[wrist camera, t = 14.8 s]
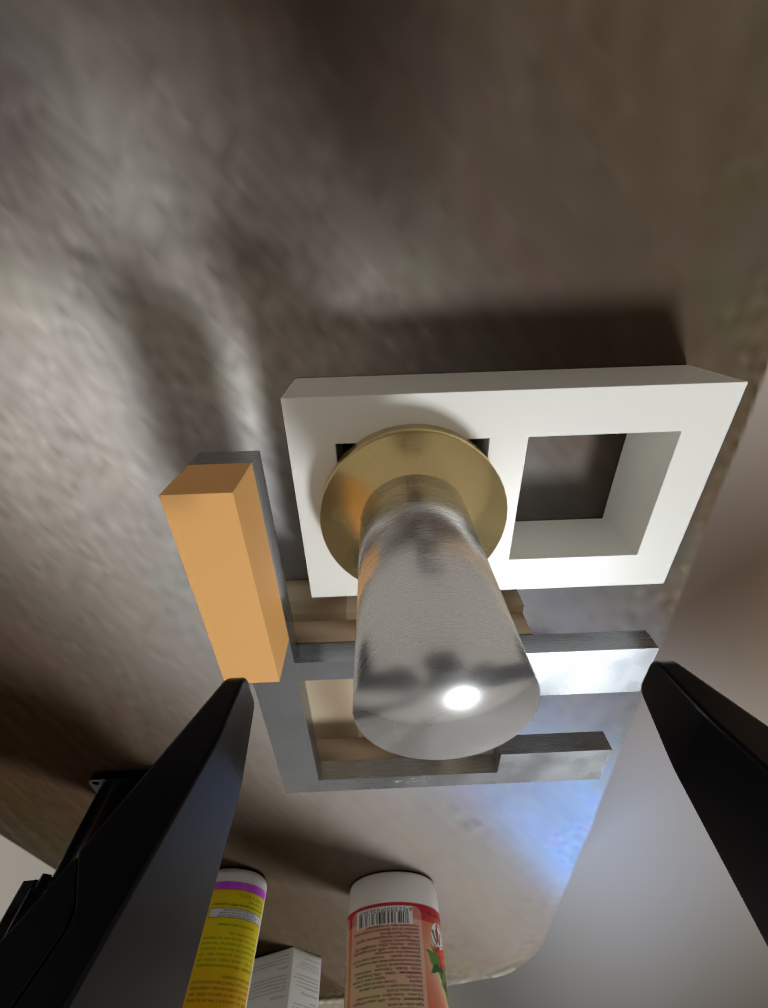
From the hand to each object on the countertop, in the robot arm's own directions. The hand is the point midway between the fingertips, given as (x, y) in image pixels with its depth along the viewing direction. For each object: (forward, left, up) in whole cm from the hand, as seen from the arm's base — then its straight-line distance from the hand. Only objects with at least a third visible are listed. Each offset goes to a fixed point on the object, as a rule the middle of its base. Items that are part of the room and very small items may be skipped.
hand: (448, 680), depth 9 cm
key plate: (+2, -7, -7) cm, 10 cm away
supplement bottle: (-18, -45, -11) cm, 50 cm away
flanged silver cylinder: (0, 0, -11) cm, 11 cm away
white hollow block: (+3, 0, -11) cm, 11 cm away
